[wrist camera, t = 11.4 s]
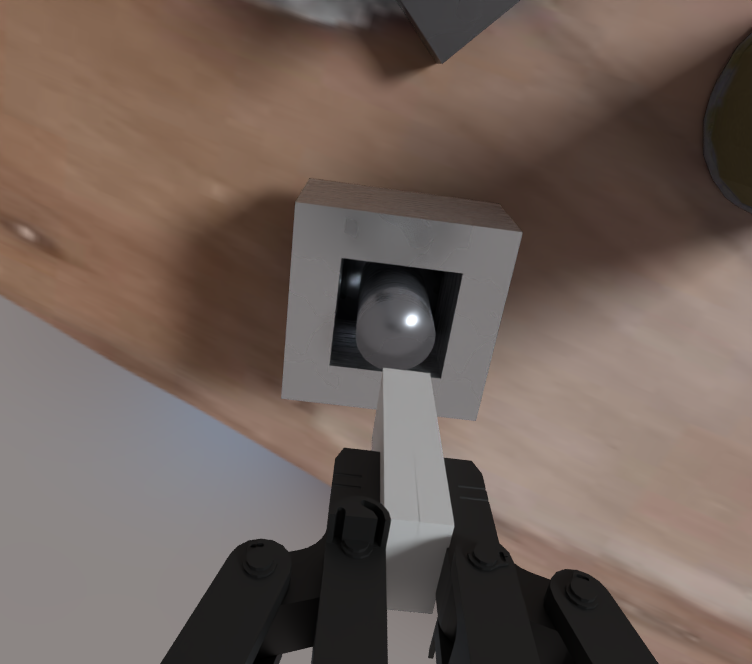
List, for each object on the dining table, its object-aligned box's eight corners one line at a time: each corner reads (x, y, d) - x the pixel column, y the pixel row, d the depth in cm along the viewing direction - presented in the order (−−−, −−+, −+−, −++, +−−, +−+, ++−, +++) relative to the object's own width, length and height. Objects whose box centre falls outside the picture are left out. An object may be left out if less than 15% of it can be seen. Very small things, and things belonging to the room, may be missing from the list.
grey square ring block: (309, 178, 27) (295, 202, 22) (498, 203, 27) (522, 232, 23) (295, 348, 30) (281, 398, 26) (461, 368, 31) (475, 421, 26)
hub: (287, 250, 31) (254, 319, 23) (407, 157, 29) (418, 195, 20) (377, 355, 33) (376, 450, 25) (493, 277, 31) (533, 353, 23)
